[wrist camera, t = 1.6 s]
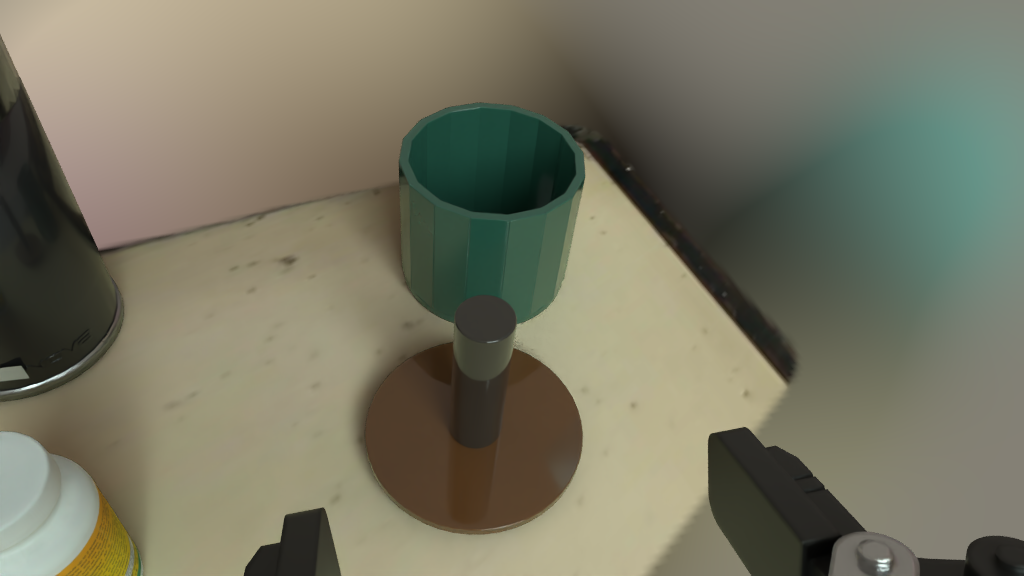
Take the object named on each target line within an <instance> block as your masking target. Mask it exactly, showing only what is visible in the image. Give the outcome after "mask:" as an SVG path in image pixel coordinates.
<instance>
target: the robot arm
mask: <svg viewBox="0 0 1024 576" xmlns="http://www.w3.org/2000/svg"><path fill="white" fill-rule="evenodd" d="M123 315H124V306H123V300H122V297H121V295H120V292H119V290H118V288H117V286H116V284H115V282H114V280H113V279H112V278H111V276H110V275H109V273H108V271H107V269H106V267H105V264H104V262H103V260H102V258H101V255H100V253H99V251H98V248H97V246H96V244H95V241H94V239H93V237H92V235H91V233H90V231H89V228H88V226H87V224H86V222H85V219H84V217H83V215H82V213H81V211H80V209H79V206H78V204H77V202H76V200H75V197H74V195H73V193H72V191H71V189H70V186H69V184H68V182H67V180H66V177H65V175H64V173H63V171H62V169H61V166H60V165H59V162H58V160H57V158H56V155H55V154H54V151H53V149H52V147H51V145H50V142H49V140H48V138H47V136H46V133H45V131H44V129H43V127H42V125H41V123H40V120H39V118H38V116H37V114H36V111H35V109H34V107H33V105H32V103H31V100H30V98H29V96H28V94H27V92H26V89H25V87H24V85H23V83H22V80H21V78H20V77H19V75H18V73H17V70H16V69H15V66H14V64H13V62H12V59H11V57H10V55H9V53H8V51H7V48H6V46H5V44H4V42H3V40H2V37H1V35H0V402H1V401H11V400H18V399H23V398H27V397H31V396H35V395H38V394H41V393H44V392H47V391H49V390H52V389H54V388H57V387H59V386H61V385H63V384H65V383H67V382H69V381H70V380H72V379H74V378H76V377H77V376H79V375H80V374H82V373H83V372H84V371H86V370H87V369H88V368H90V367H91V366H92V365H93V364H94V363H96V362H97V361H98V360H99V359H100V358H101V357H102V356H103V355H104V354H105V352H106V351H107V350H108V349H109V348H110V346H111V345H112V343H113V342H114V340H115V338H116V337H117V335H118V333H119V330H120V328H121V325H122V321H123ZM708 490H709V501H710V506H711V510H712V513H713V516H714V518H715V520H716V522H717V524H718V526H719V527H720V529H721V530H722V532H723V533H724V535H725V536H726V538H727V539H728V541H729V542H730V544H731V545H732V547H733V548H734V550H735V551H736V553H737V554H738V556H739V557H740V559H741V560H742V562H743V564H744V565H745V567H746V568H747V570H748V571H749V573H750V574H751V576H1024V541H1022V540H1019V539H1015V538H1010V537H1004V536H988V537H987V536H986V537H982V538H979V539H976V540H975V541H973V542H972V543H971V544H970V545H969V546H968V549H967V554H966V560H945V559H924V558H917V557H916V556H915V554H914V553H913V552H912V551H911V550H910V549H909V548H908V547H907V546H906V545H904V544H903V543H901V542H900V541H898V540H896V539H893V538H891V537H888V536H886V535H883V534H879V533H874V532H867V531H866V530H865V529H864V528H863V527H862V526H861V525H860V524H859V523H858V522H857V520H856V519H855V518H854V517H852V515H851V514H850V513H849V512H848V511H847V510H846V509H845V508H844V507H843V506H842V504H840V502H839V501H838V500H837V499H836V498H835V497H834V496H833V495H832V494H831V493H830V492H829V491H828V489H827V490H825V488H824V485H823V484H822V483H821V482H820V481H819V480H818V479H817V478H816V477H813V474H812V473H811V471H810V470H809V469H808V468H807V467H806V466H805V465H804V464H803V463H802V462H801V461H800V460H799V459H798V458H797V457H796V456H794V455H792V454H790V453H788V452H786V451H784V450H783V449H781V448H779V447H777V446H772V447H767V448H765V447H764V446H763V445H762V443H761V442H760V441H759V440H758V439H757V438H756V437H755V435H754V434H753V433H752V432H751V431H750V430H749V429H748V428H746V427H743V428H738V429H732V430H727V431H722V432H717V433H712V434H710V436H709V440H708ZM244 576H341V573H340V568H339V563H338V559H337V555H336V551H335V547H334V543H333V538H332V534H331V530H330V526H329V522H328V518H327V514H326V511H325V509H324V508H318V509H313V510H308V511H303V512H297V513H292V514H287V515H286V516H285V518H284V523H283V529H282V535H281V541H280V543H275V544H270V545H265V546H261V547H260V548H259V549H258V551H257V552H256V554H255V555H254V556H253V558H252V559H251V560H250V562H249V563H248V565H247V566H246V568H245V572H244Z"/></svg>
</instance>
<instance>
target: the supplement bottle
mask: <svg viewBox="0 0 1024 576" xmlns="http://www.w3.org/2000/svg"><path fill="white" fill-rule="evenodd" d="M0 576H143V564H142V560H141V556H140V553H139V551H138V549H137V547H136V546H135V544H134V542H133V540H132V539H131V538H130V536H129V534H128V533H127V531H126V530H125V528H124V527H123V525H122V524H121V522H120V521H119V519H118V518H117V516H116V514H115V513H114V511H113V510H112V508H111V507H110V505H109V504H108V502H107V501H106V499H105V498H104V496H103V495H102V493H101V492H100V490H99V489H98V487H97V485H96V484H95V482H94V480H93V479H92V477H91V476H90V475H89V474H88V473H87V472H86V471H85V470H84V469H83V468H82V467H81V466H79V465H78V464H77V463H75V462H74V461H72V460H70V459H68V458H65V457H62V456H59V455H55V454H50V453H48V452H47V450H46V449H45V448H44V447H43V446H42V445H41V444H40V443H39V442H38V441H37V440H35V439H34V438H32V437H30V436H28V435H25V434H22V433H18V432H11V431H0Z"/></svg>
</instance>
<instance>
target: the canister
mask: <svg viewBox="0 0 1024 576" xmlns="http://www.w3.org/2000/svg"><path fill="white" fill-rule="evenodd" d="M584 180H585V166H584V154H583V152H582V150H581V149H580V148H579V146H578V145H577V143H576V142H575V140H574V139H573V138H572V136H571V135H570V133H569V132H568V131H566V130H565V129H563V128H562V127H560V126H559V125H557V124H556V123H554V122H553V121H551V120H550V119H548V118H547V117H545V116H543V115H541V114H538V113H534V112H532V111H528V110H525V109H522V108H519V107H516V106H512V105H503V104H490V103H473V104H466V105H460V106H453V107H448V108H445V109H443V110H440V111H438V112H436V113H434V114H432V115H430V116H427V117H425V118H423V119H421V120H420V121H419V122H418V123H417V124H416V125H415V126H414V127H413V128H412V130H411V131H410V132H409V133H408V134H407V135H406V136H405V137H404V138H403V141H402V147H401V152H400V158H399V185H400V219H401V252H402V268H403V270H404V277H405V280H406V283H407V285H408V287H409V289H410V291H411V293H412V294H413V295H414V297H415V298H416V299H417V300H418V301H419V302H420V303H421V304H422V305H423V306H424V307H425V308H426V309H428V310H429V311H430V312H432V313H433V314H435V315H437V316H438V317H440V318H443V319H445V320H447V321H449V322H452V323H454V316H455V312H456V310H457V308H458V307H459V305H460V304H461V303H462V302H463V301H465V300H466V299H468V298H470V297H473V296H477V295H492V296H496V297H499V298H501V299H503V300H505V301H506V302H507V303H509V304H510V305H511V307H512V308H513V310H514V311H515V314H516V317H517V324H519V323H522V322H525V321H527V320H529V319H531V318H533V317H535V316H536V315H538V314H540V313H541V312H542V311H543V310H545V309H546V308H547V307H548V306H549V305H550V304H551V303H552V302H553V300H554V299H555V297H556V296H557V294H558V292H559V290H560V287H561V284H562V281H563V280H564V277H565V272H566V267H567V262H568V257H569V253H570V248H571V243H572V238H573V233H574V228H575V223H576V219H577V214H578V209H579V204H580V199H581V194H582V189H583V185H584Z"/></svg>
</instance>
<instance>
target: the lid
mask: <svg viewBox="0 0 1024 576" xmlns="http://www.w3.org/2000/svg"><path fill="white" fill-rule="evenodd" d="M516 325H517V317H516V314H515V311H514V310H513V308H512V307H511V305H510V304H509V303H507V302H506V301H505V300H503V299H501V298H499V297H496V296H492V295H477V296H473V297H470V298H468V299H466V300H465V301H463V302H462V303H461V304H460V305H459V307H458V308H457V310H456V312H455V316H454V336H453V342H452V343H447V344H442V345H438V346H435V347H432V348H429V349H427V350H424V351H422V352H420V353H418V354H416V355H414V356H413V357H411V358H409V359H407V360H406V361H405V362H403V363H402V364H401V365H399V366H398V367H397V368H396V369H395V370H394V371H393V372H392V373H391V374H390V375H389V376H388V377H387V378H386V379H385V380H384V382H383V383H382V384H381V386H380V387H379V389H378V390H377V392H376V394H375V396H374V397H373V400H372V402H371V405H370V407H369V411H368V415H367V419H366V427H365V441H366V451H367V456H368V460H369V464H370V466H371V469H372V472H373V474H374V476H375V478H376V480H377V481H378V483H379V485H380V487H381V488H382V489H383V490H384V492H385V493H386V494H387V496H388V497H389V498H390V499H391V500H392V501H393V502H394V503H395V504H396V505H397V506H398V507H399V508H401V509H402V510H403V511H405V512H406V513H407V514H409V515H410V516H412V517H414V518H415V519H417V520H419V521H421V522H423V523H425V524H427V525H430V526H432V527H435V528H437V529H441V530H445V531H449V532H453V533H461V534H490V533H497V532H502V531H506V530H510V529H513V528H516V527H518V526H521V525H523V524H526V523H528V522H530V521H532V520H533V519H535V518H537V517H538V516H540V515H542V514H543V513H544V512H545V511H547V510H548V509H549V508H550V507H552V506H553V505H554V504H555V503H556V502H557V501H558V499H559V498H560V497H561V496H562V495H563V493H564V492H565V491H566V489H567V488H568V486H569V485H570V483H571V481H572V479H573V477H574V475H575V473H576V470H577V467H578V464H579V460H580V457H581V451H582V441H583V432H582V424H581V419H580V415H579V412H578V409H577V406H576V404H575V402H574V400H573V397H572V396H571V394H570V393H569V391H568V389H567V388H566V386H565V385H564V384H563V383H562V381H561V380H560V379H559V378H558V377H557V376H556V375H555V374H554V373H553V372H552V371H551V370H550V369H549V368H548V367H547V366H545V365H544V364H543V363H541V362H540V361H538V360H537V359H535V358H533V357H532V356H530V355H528V354H526V353H524V352H522V351H520V350H518V349H515V348H513V346H514V339H515V332H516Z"/></svg>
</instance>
